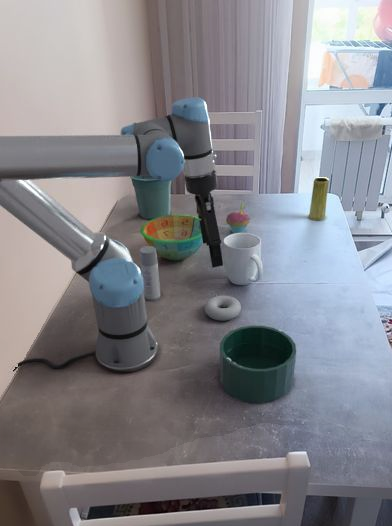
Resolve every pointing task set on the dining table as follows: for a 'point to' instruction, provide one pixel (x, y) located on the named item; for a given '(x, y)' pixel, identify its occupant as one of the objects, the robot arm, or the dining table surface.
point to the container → (150, 273)
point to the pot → (257, 363)
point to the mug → (242, 258)
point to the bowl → (173, 235)
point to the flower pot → (152, 196)
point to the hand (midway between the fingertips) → (212, 253)
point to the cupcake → (238, 221)
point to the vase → (319, 199)
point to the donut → (218, 312)
